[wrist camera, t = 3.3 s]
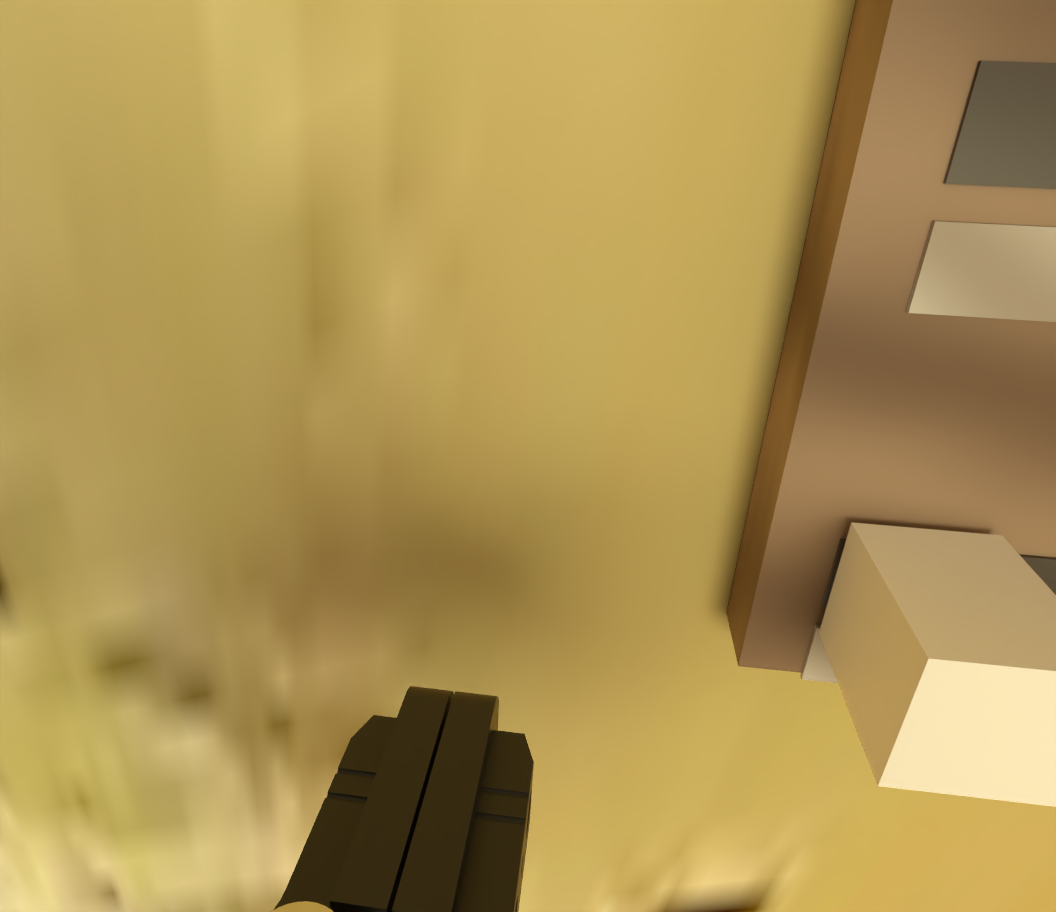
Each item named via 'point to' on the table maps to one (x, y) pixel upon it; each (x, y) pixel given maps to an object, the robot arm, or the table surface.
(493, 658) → the table surface
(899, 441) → the switch board
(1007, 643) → the tab
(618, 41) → the table surface
